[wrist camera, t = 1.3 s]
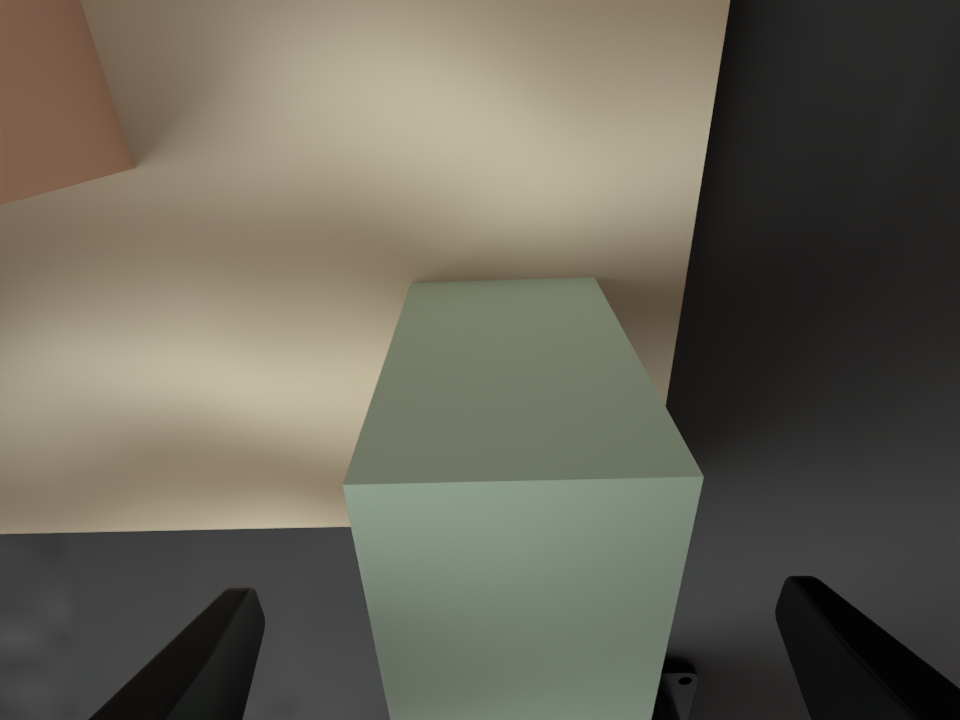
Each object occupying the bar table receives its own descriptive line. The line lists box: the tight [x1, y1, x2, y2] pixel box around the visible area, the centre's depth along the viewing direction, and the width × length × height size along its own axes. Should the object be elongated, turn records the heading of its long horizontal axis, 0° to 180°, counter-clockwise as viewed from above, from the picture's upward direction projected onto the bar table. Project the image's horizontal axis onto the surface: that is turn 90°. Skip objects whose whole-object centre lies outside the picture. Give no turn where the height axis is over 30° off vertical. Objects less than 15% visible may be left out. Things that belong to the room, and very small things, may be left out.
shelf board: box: [0, 0, 730, 534], centre depth 12 cm, size 15×19×3 cm
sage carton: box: [343, 277, 704, 720], centre depth 11 cm, size 4×8×6 cm, turn 2°
